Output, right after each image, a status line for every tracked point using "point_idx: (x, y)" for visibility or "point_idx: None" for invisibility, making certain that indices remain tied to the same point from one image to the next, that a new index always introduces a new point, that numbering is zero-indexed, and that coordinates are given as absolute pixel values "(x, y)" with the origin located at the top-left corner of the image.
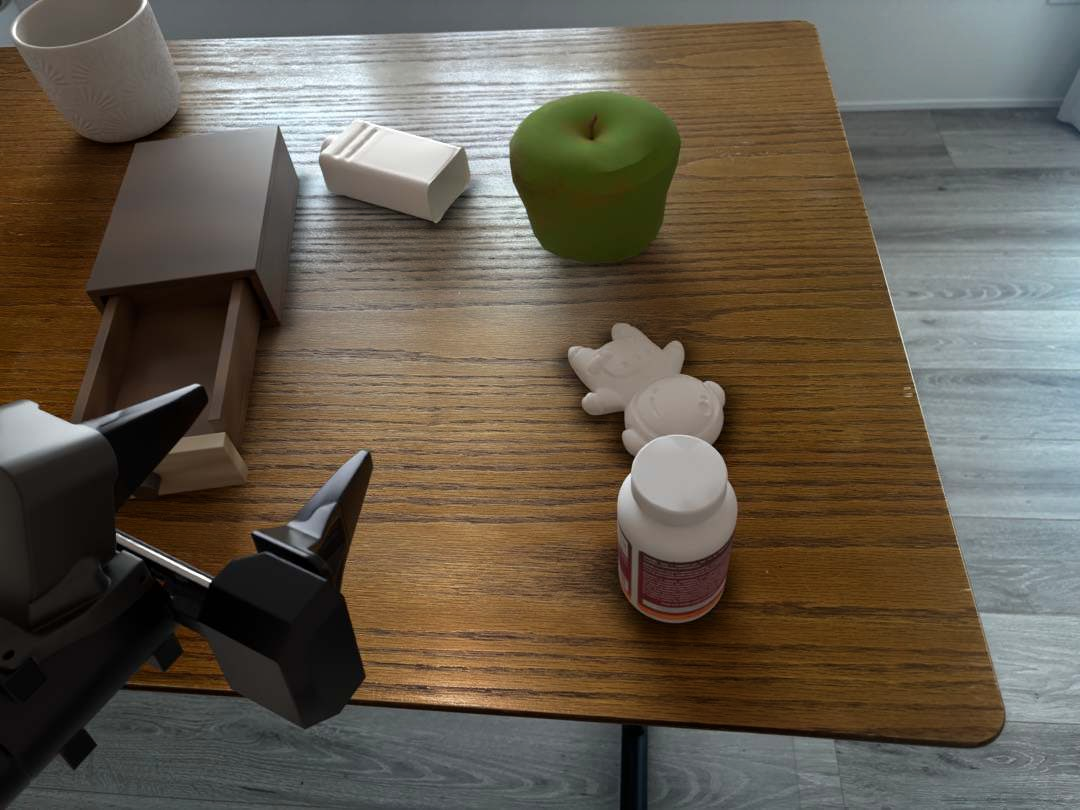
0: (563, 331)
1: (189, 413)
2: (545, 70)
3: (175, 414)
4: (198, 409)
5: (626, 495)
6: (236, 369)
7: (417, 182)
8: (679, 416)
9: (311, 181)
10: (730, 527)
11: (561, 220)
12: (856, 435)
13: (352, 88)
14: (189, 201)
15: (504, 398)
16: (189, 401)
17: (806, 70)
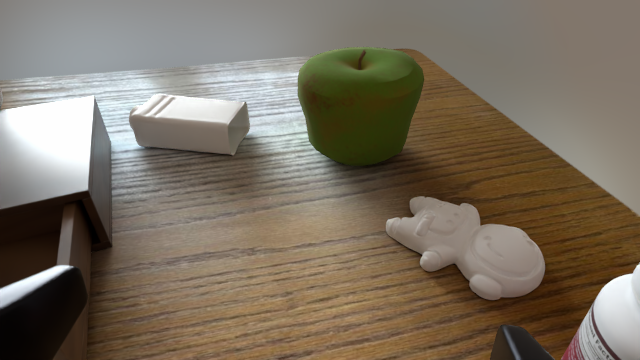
0: (368, 212)
1: (48, 331)
2: (273, 72)
3: (13, 339)
4: (68, 319)
5: (633, 329)
6: None
7: (218, 123)
8: (519, 254)
9: (121, 142)
10: None
11: (353, 126)
12: (633, 248)
13: (142, 90)
14: (13, 149)
15: (347, 272)
16: (48, 303)
17: (427, 62)
